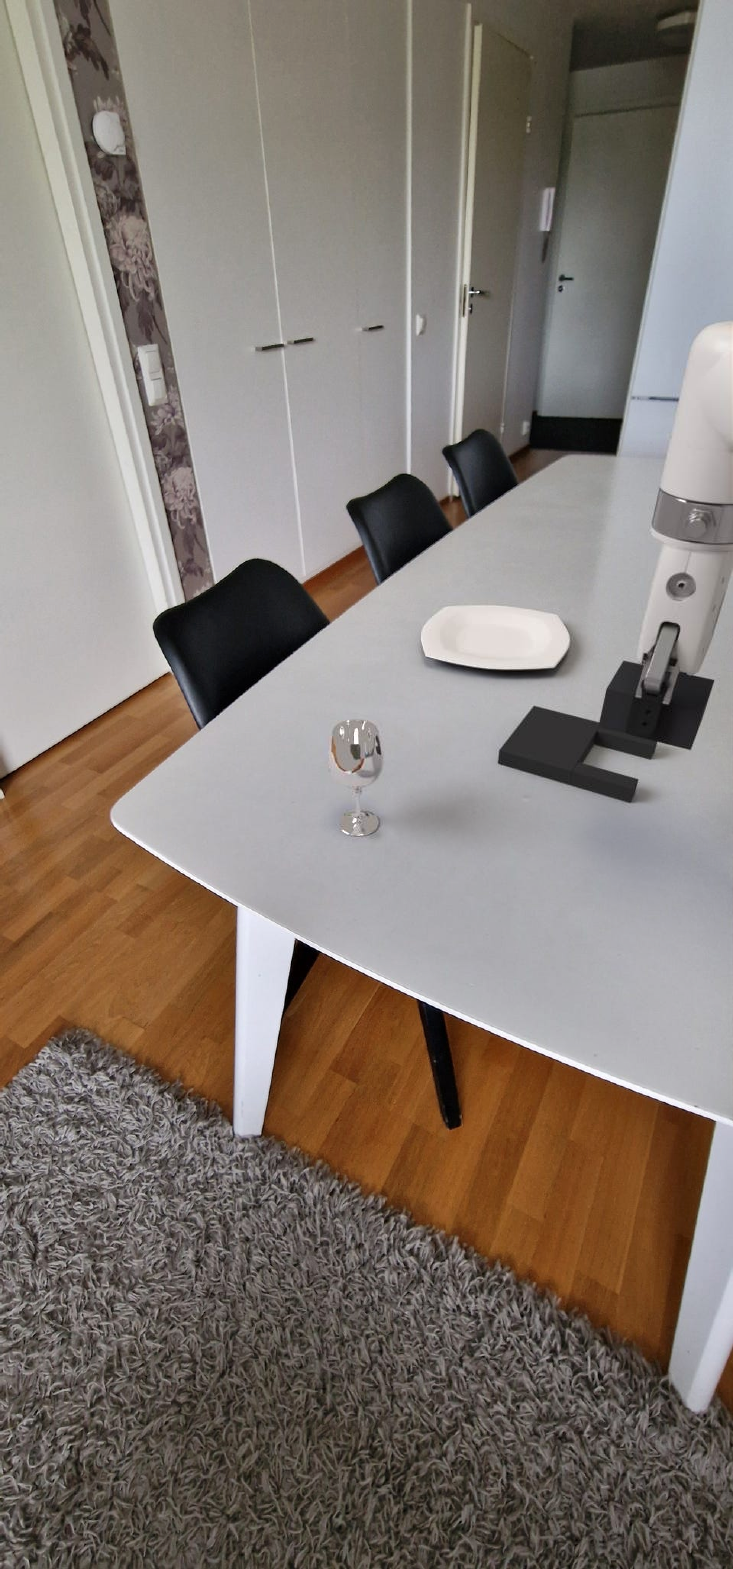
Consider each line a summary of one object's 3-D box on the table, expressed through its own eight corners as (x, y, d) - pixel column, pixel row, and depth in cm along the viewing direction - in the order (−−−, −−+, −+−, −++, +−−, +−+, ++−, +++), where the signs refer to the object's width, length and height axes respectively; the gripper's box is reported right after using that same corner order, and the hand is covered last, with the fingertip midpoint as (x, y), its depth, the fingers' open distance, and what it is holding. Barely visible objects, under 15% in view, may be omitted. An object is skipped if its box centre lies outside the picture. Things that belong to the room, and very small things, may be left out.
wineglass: (322, 830, 77) (315, 738, 69) (348, 801, 81) (343, 711, 73) (369, 846, 74) (367, 753, 67) (393, 815, 78) (393, 724, 71)
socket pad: (654, 750, 87) (658, 737, 86) (630, 803, 79) (633, 789, 78) (532, 718, 94) (533, 705, 93) (497, 763, 86) (499, 750, 85)
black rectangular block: (702, 718, 65) (714, 679, 62) (690, 750, 61) (703, 710, 58) (615, 697, 68) (623, 660, 66) (598, 726, 64) (606, 688, 62)
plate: (567, 687, 101) (569, 674, 99) (408, 672, 105) (408, 660, 104) (569, 621, 118) (570, 610, 117) (433, 611, 123) (433, 600, 122)
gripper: (745, 560, 46) (676, 780, 57) (772, 493, 58) (711, 686, 68) (627, 542, 49) (584, 755, 60) (676, 483, 61) (632, 669, 72)
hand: (652, 716), depth 64 cm, fingers closed on black rectangular block, 6 cm apart
